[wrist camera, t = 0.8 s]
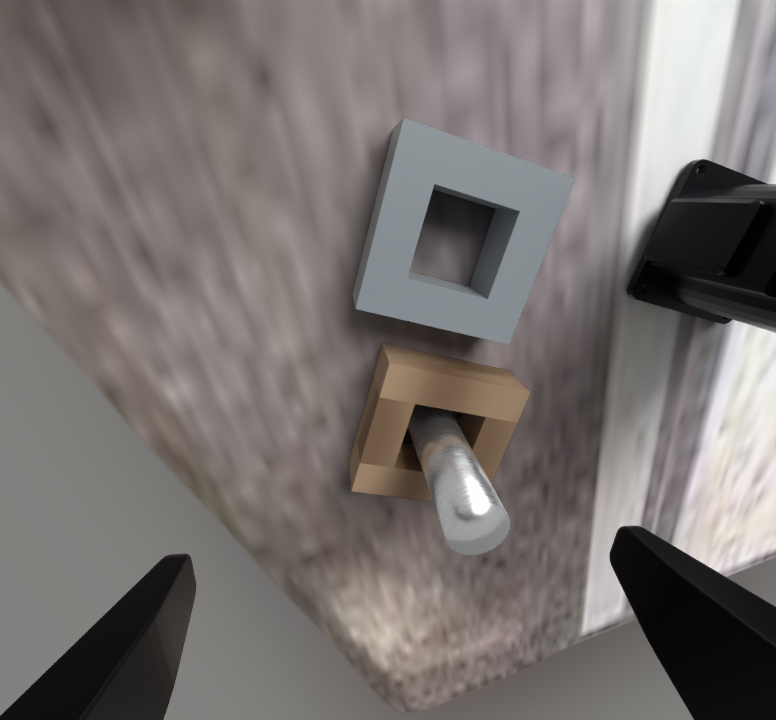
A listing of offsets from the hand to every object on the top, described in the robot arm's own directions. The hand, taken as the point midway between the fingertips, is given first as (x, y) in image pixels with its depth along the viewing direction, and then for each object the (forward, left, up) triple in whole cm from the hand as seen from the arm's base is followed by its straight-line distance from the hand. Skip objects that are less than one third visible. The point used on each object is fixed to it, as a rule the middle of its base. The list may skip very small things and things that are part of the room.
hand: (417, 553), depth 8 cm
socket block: (-4, +3, -12) cm, 13 cm away
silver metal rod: (-4, +3, -12) cm, 13 cm away
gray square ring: (-2, -6, -12) cm, 14 cm away
